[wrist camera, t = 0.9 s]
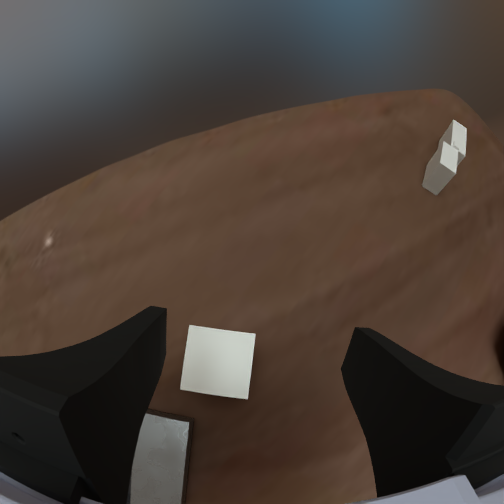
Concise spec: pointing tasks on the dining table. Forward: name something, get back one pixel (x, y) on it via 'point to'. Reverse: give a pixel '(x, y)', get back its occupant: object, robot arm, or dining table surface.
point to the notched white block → (446, 158)
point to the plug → (218, 362)
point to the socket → (161, 459)
